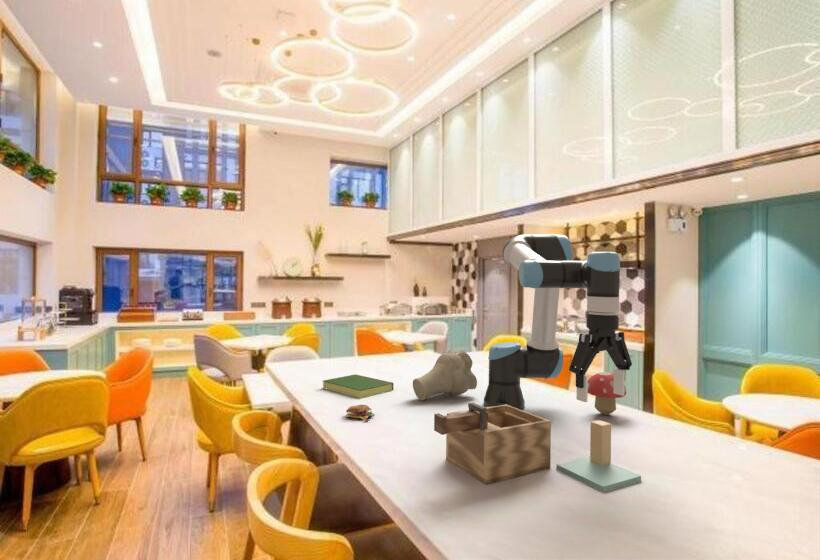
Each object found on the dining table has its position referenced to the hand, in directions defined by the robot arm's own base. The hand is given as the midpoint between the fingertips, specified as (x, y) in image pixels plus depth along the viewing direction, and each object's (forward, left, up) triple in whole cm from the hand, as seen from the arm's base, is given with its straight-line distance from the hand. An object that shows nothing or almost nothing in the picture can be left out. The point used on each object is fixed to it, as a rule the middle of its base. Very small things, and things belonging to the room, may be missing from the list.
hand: (600, 397), depth 117 cm
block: (+36, -10, -6) cm, 37 cm away
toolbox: (+24, -14, -18) cm, 33 cm away
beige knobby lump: (-1, -78, -18) cm, 80 cm away
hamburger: (+37, -66, -18) cm, 78 cm away
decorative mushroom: (-41, -32, -18) cm, 55 cm away
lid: (+4, +3, -18) cm, 19 cm away
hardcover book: (+24, -105, -19) cm, 109 cm away
